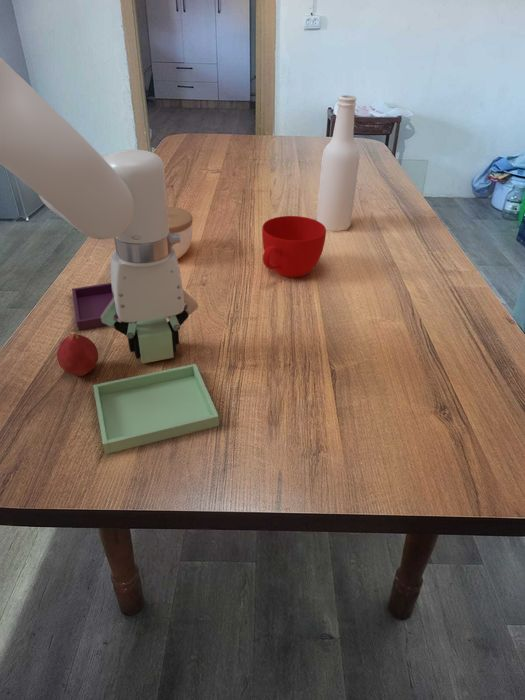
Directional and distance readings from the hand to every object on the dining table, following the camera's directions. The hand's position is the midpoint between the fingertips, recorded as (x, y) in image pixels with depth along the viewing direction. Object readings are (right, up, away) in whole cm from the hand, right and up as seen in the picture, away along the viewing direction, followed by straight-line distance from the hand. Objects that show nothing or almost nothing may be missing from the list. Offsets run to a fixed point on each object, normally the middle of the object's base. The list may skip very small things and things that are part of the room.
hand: (154, 349), depth 79 cm
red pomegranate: (-11, -4, -3) cm, 12 cm away
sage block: (0, 0, 0) cm, 0 cm away
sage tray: (+2, -9, -10) cm, 13 cm away
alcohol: (+35, +32, +47) cm, 67 cm away
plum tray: (-10, +8, +13) cm, 18 cm away
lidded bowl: (-4, +21, +31) cm, 37 cm away
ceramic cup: (+22, +16, +25) cm, 37 cm away
